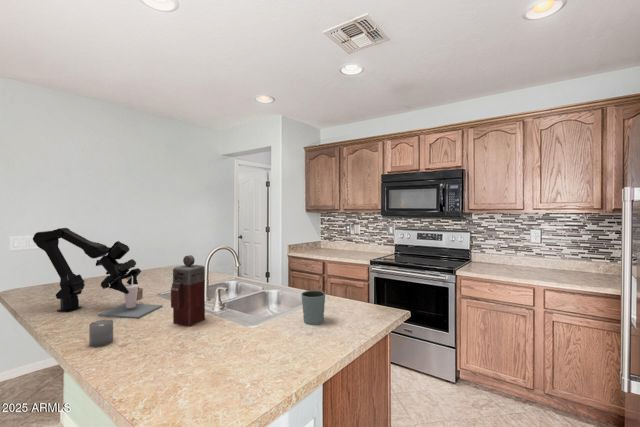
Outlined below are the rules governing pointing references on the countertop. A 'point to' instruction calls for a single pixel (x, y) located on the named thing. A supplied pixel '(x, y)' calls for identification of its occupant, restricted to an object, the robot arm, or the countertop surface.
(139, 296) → the walnut block
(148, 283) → the countertop surface
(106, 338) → the grey rounded canister
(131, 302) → the smoothie
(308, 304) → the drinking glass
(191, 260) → the french press
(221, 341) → the countertop surface
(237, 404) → the countertop surface
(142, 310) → the slate mat
